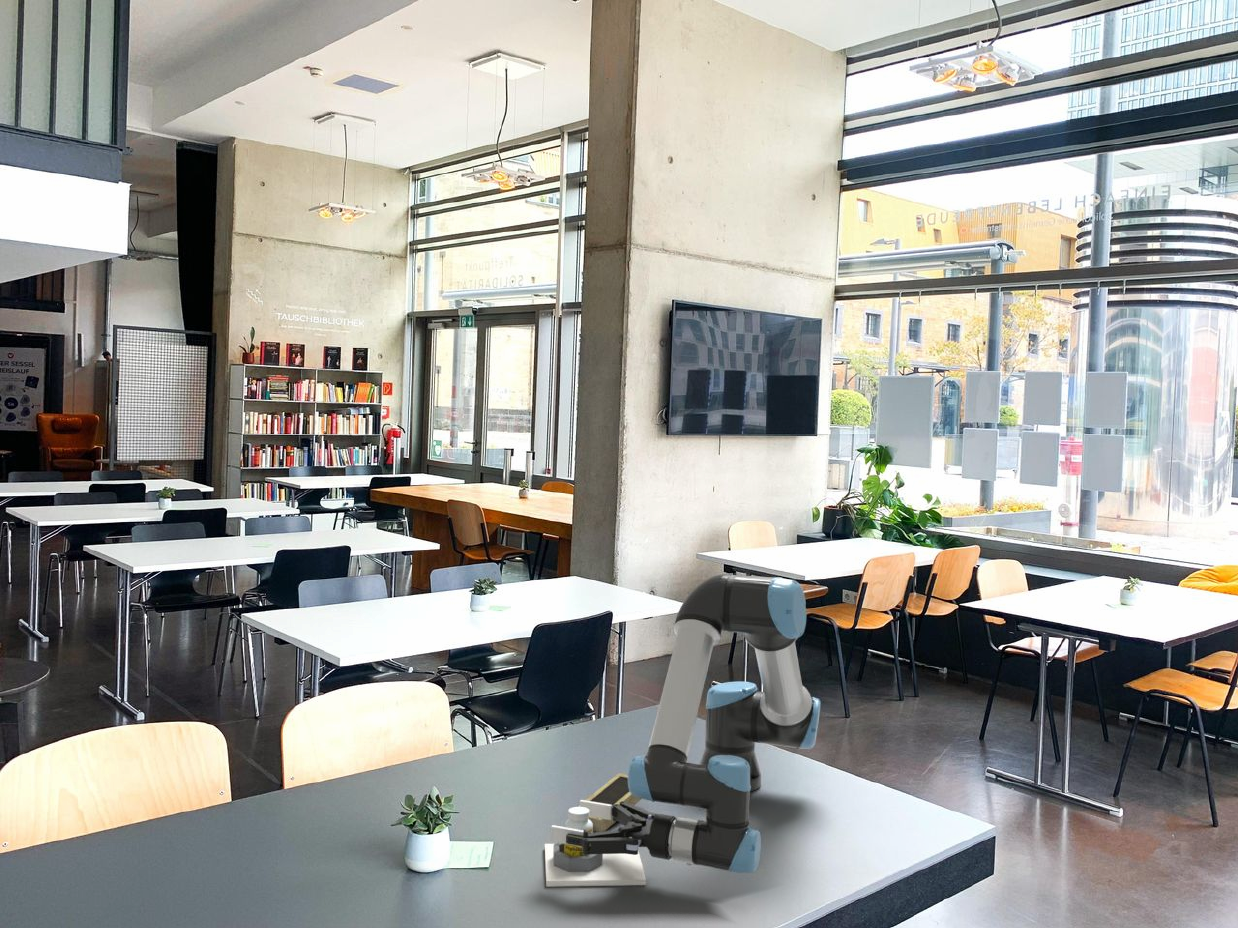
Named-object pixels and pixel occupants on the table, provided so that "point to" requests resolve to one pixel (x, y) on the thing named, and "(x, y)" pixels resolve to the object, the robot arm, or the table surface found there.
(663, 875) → the table surface
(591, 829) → the supplement bottle
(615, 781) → the box
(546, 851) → the plate
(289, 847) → the table surface
